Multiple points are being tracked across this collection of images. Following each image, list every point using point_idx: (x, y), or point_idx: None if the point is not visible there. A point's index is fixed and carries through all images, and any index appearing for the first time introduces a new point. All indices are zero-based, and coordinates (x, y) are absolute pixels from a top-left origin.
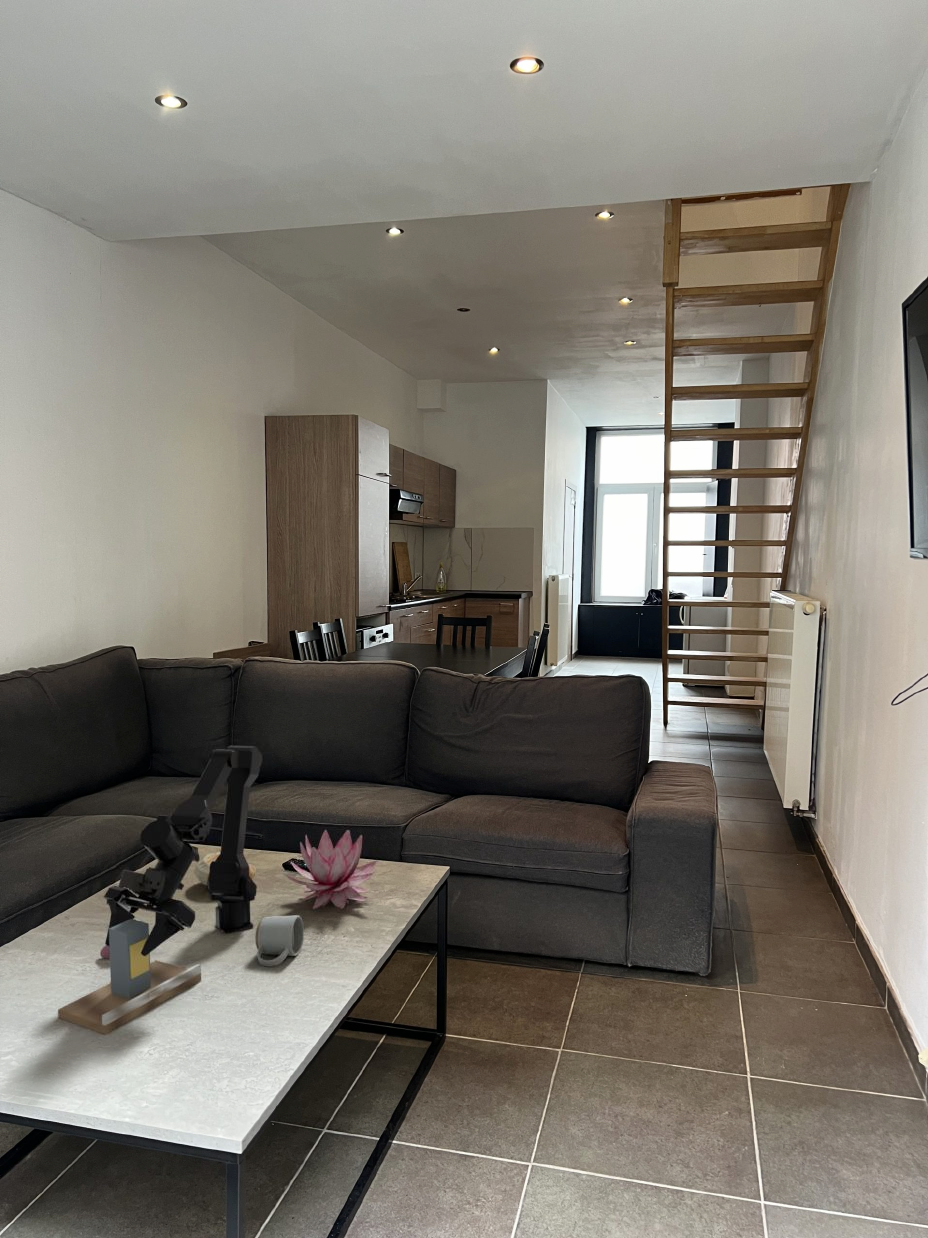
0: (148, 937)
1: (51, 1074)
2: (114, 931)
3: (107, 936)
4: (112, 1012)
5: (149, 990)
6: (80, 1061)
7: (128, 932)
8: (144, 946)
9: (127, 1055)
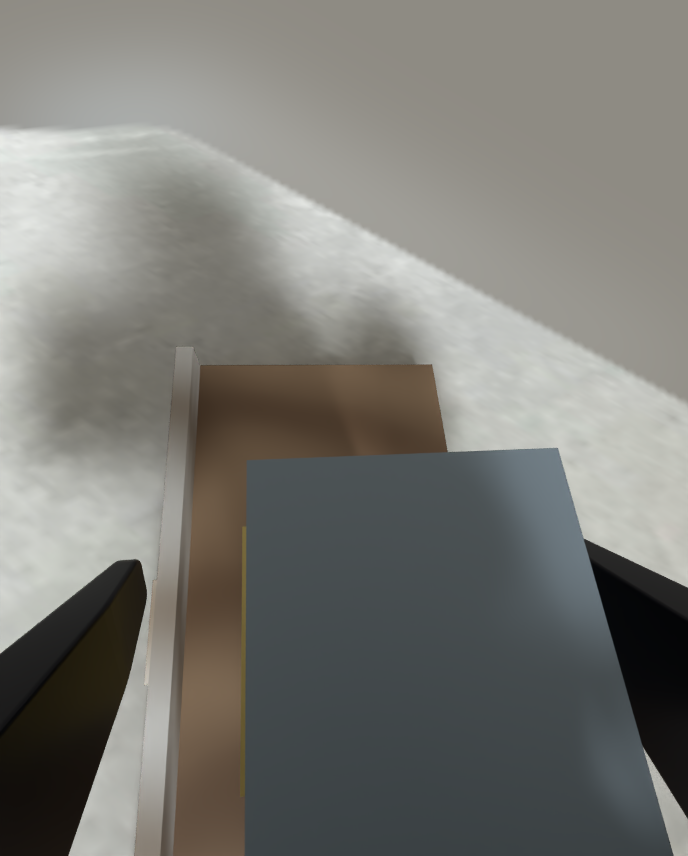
0: (37, 673)
1: (161, 202)
2: (460, 455)
3: (610, 555)
4: (173, 379)
5: (171, 599)
6: (137, 261)
7: (248, 490)
8: (95, 596)
9: (13, 332)
